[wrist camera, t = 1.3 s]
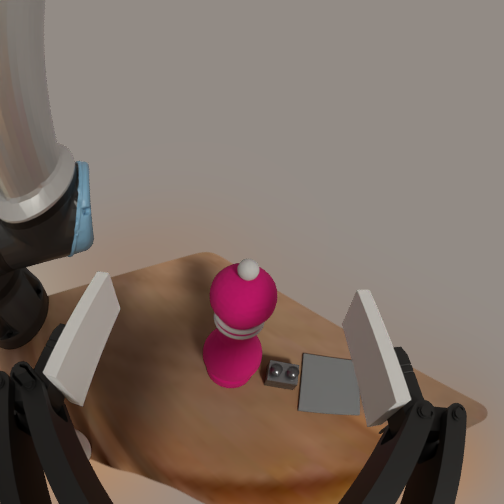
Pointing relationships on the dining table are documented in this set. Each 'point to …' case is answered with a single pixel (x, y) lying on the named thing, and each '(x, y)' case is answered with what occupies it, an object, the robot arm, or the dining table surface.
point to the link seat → (328, 386)
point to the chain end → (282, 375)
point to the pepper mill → (238, 322)
